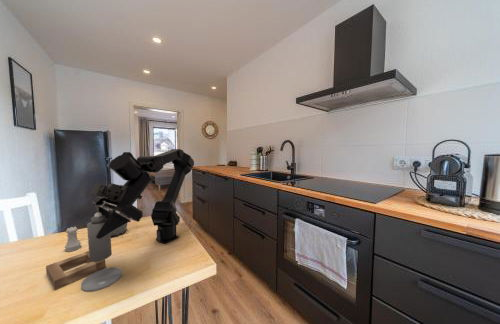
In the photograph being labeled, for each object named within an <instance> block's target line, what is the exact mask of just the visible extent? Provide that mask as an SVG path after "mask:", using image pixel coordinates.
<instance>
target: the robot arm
mask: <svg viewBox="0 0 500 324" xmlns="http://www.w3.org/2000/svg"><path fill="white" fill-rule="evenodd" d="M169 163H172V164H173V169H174V173H173V174H172V178H171V180H170V182H169V184H168V188H167V189H166V191H165V194H164V196H163V199H162V200H161V201H160V200H159V201H157V200H156V202H154V207H153V208H152V209H151V211H152V212H151V214H150V218H151V221H152V224H153V226H156V227H157V230H156V237H155V240H156V241H158V242H160V243H162V244H164V245H165V244H167V243H169V242H173V241H174V240H177V239H178V238H179V237H180V236H179V235H177V226H178V225H179V223H180V221H181V220H180V219H181V217H180V216H179V214H178V213H177V206H176V202H177V200H178V199H177V198H178V197H179V194H180V191H181V189H182V186H183V182H184V181H185V177H186V176H187V175H188V174H189V173H190V172H191V171H192V170H193V167H194V166H195V161H194V159H193V157H192V156H191V155H189V154H188V153H186V152H184V150H183V149H181V148H172V149H170V150H167V151H165V152H162V153H158V154H156V155H155V154H154V155H144V156H143V155H142V156H138V157H137V158H135V156H134V155H133V154H132V153H131V151H124V152H122V154H119V155H118V156H116V157H114V159H111V161H110V162H109V164H108V166H109V168H110V169H111V170H112V172H114V173H115V174H117V175H118V176H119V177H120V178H121V179H122V180H123V181H126V182H124V184H116V183H111V182H110V183H109V184H108V185H106V184H105V185H104V184H100V183H95V184H94V186H93V189H92V191H91V192H90V195H92V196H95V198H94V199H93V200H92V201H91V203H93V204H95V205H94V206H95V209H96V213H98V212H100V213H101V214H102V215H105V219H107V221H106V222H105V224H104V225H103V227H102V228H101V229H100V231H99V232H98V234H97V236H96V238H98V239H100V238H102V237H104V236H105V235H107V234H109V233H110V232H112V231H114V230H115V229H117V228H119V227H120V226H122V225H124V224H126V223H127V224H128V223H131V221H134V222H138V223H140V221H141V220H142V219H143V215H144V212H143V211H142V210H141V209H140V208H137V207H136V206H135V205H134V204H135V202H136V201H137V200H141V199H142V198H143V195H142V194H143V193H144V191H145V190H146V189H147V187H148V186H149V185H153V186H155V185H156V177H155V176H154V175H151V173H152V174H153V173H159V172H160V171H161V170H163V169H164V166H165V165H167V164H169ZM149 173H150V174H149ZM130 219H132V220H130Z"/></svg>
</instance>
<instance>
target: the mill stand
mask: <svg viewBox="0 0 500 324" xmlns="http://www.w3.org/2000/svg"><path fill="white" fill-rule="evenodd" d="M106 266H107V264H106V259H105V260H102V261H98V262H91V261H90V256H89V250H88V251H85V252H82V253H79V254H76V255H73V256H71V257H68V258H65V259H63V260H62V259H61V260H60V261H56V262H52V263H50V264H48V265H46V266H45V270H46V271H45V272H46V273H45V274H46V276H47V278H48V279H49V281H50V283H51V286H52V287H53V289H54V291H56V290H59V289H61V288H63V287H66V286H68V285H70V284H73V283H75V282H76V281H79V280H82V279H83V278H84V279H85V278H87V277H88V276H89V275H91V274H93V273H95V272H97V271H99V270H102V269H106V268H107V267H106ZM75 267H76V268H75ZM67 270H68V271H67Z"/></svg>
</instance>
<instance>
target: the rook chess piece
mask: <svg viewBox="0 0 500 324" xmlns="http://www.w3.org/2000/svg"><path fill="white" fill-rule="evenodd" d="M77 231H78V228H77V226H70V227H68V228H66V231H65V233H66V234H67V235H66V237H67V242H66V244H65V246H64V251H66V252H68V253H70V252H74V251H78V250H79V249H80V248H81V247H82V245H81V244H82V242H80V240H79V239H78V236H77V235H78V232H77Z"/></svg>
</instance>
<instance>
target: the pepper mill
mask: <svg viewBox="0 0 500 324" xmlns="http://www.w3.org/2000/svg"><path fill="white" fill-rule="evenodd" d="M90 220H91V221H90V222H87V224H86V227H87V242H88V251H89V256H90V261H91V262H98V261H102V260H105V261H106V260H107V259H109V258H110V257H111V256H112V254H113V253H112V236H110V233H109V234H107V235H105V236H104V237H102V238H100V239H98V238H96V236H97V234H98V232H99V231H100V229H101V228H102V227H103V225H104V224H105V222H106V221H107V219H105V215H102V214H101V213H100V212H98V213H97V212H96V213H94V216H92V217H91V218H90Z"/></svg>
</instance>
